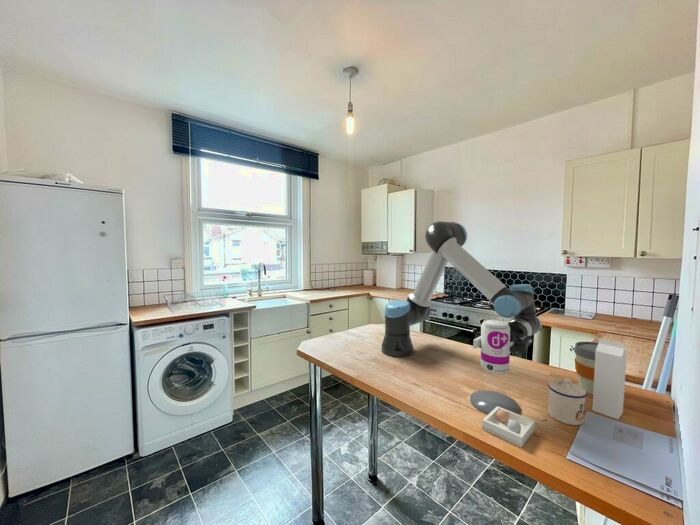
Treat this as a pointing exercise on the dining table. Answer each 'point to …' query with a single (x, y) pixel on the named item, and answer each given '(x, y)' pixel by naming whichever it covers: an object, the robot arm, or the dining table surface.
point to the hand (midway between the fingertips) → (488, 347)
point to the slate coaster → (493, 401)
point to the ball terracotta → (503, 415)
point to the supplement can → (494, 346)
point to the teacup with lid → (567, 401)
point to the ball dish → (501, 428)
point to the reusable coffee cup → (585, 364)
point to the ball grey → (514, 426)
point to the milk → (609, 378)
